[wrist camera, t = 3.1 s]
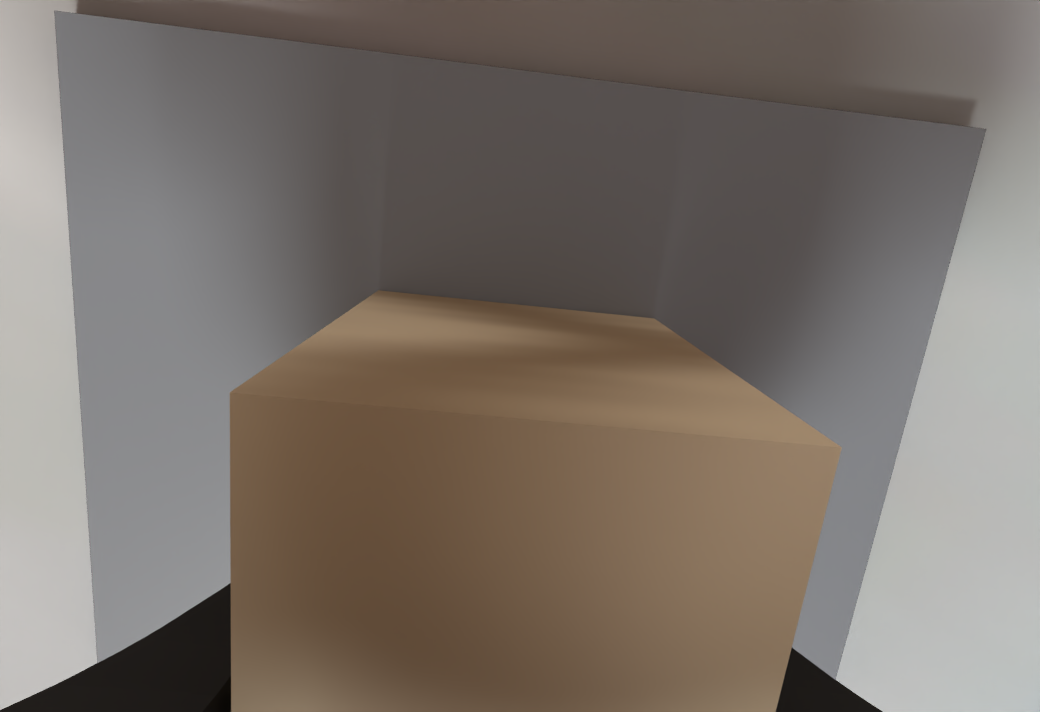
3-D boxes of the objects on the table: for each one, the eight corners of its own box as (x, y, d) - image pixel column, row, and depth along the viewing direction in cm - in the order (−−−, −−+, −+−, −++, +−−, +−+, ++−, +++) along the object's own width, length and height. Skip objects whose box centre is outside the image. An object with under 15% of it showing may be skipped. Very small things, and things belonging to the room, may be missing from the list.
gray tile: (967, 132, 10) (987, 129, 9) (766, 880, 13) (775, 902, 13) (73, 18, 9) (51, 9, 8) (123, 853, 13) (110, 876, 12)
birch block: (653, 318, 10) (842, 447, 5) (582, 761, 12) (651, 1208, 7) (378, 290, 10) (229, 392, 4) (353, 748, 12) (233, 1205, 6)
